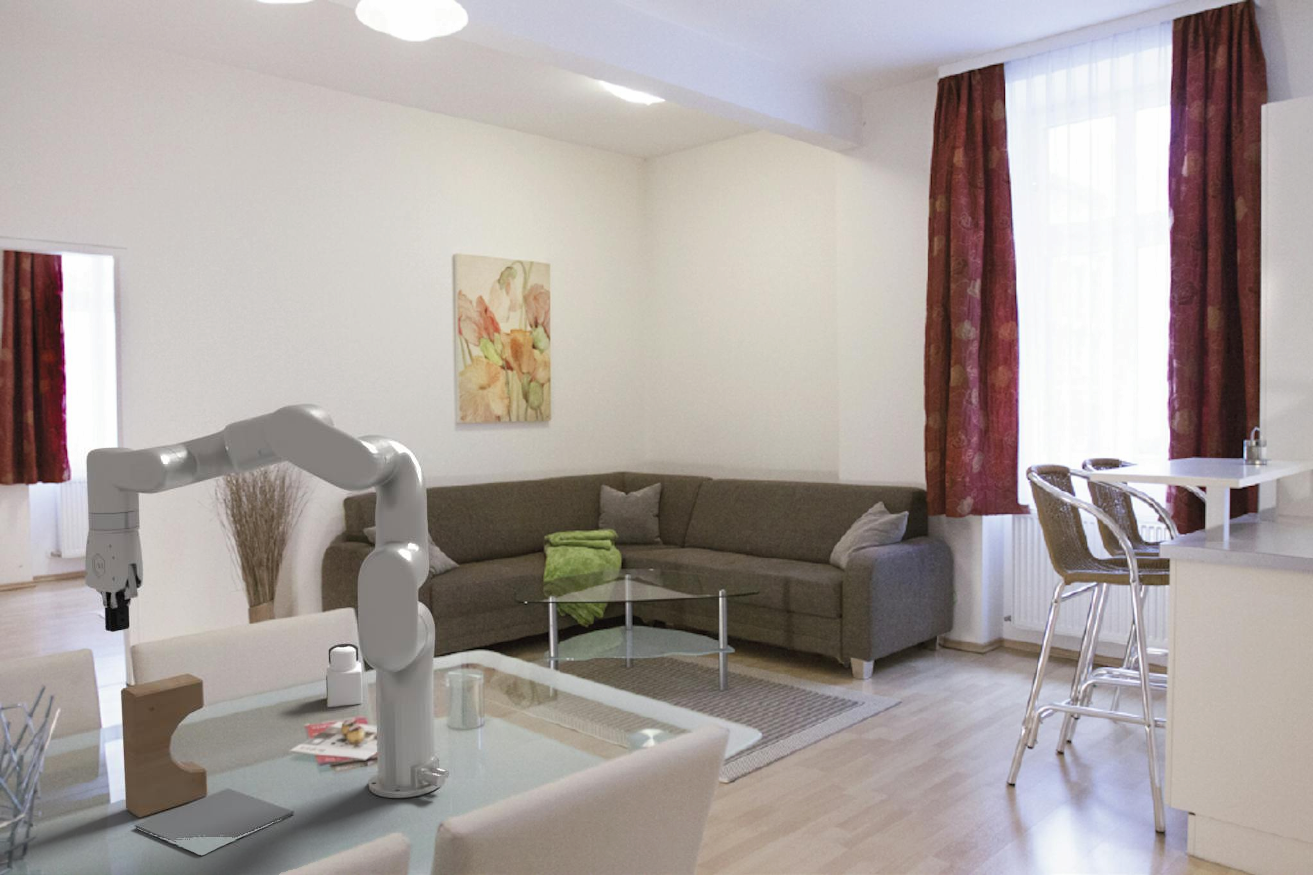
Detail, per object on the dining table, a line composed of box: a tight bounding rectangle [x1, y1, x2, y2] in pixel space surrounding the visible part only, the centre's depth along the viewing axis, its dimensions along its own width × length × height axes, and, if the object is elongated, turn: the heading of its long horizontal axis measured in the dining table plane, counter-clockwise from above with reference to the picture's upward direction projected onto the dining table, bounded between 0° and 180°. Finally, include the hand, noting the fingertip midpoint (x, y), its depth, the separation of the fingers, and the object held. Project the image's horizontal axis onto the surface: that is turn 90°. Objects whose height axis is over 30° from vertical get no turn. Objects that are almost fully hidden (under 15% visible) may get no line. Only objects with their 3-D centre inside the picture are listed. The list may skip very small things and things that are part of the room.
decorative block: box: [120, 673, 208, 819], centre depth 162 cm, size 11×6×20 cm, turn 137°
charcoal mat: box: [134, 787, 295, 842], centre depth 156 cm, size 17×16×1 cm
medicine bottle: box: [325, 643, 363, 708], centre depth 213 cm, size 7×7×12 cm
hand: (117, 629), depth 168 cm, fingers closed
